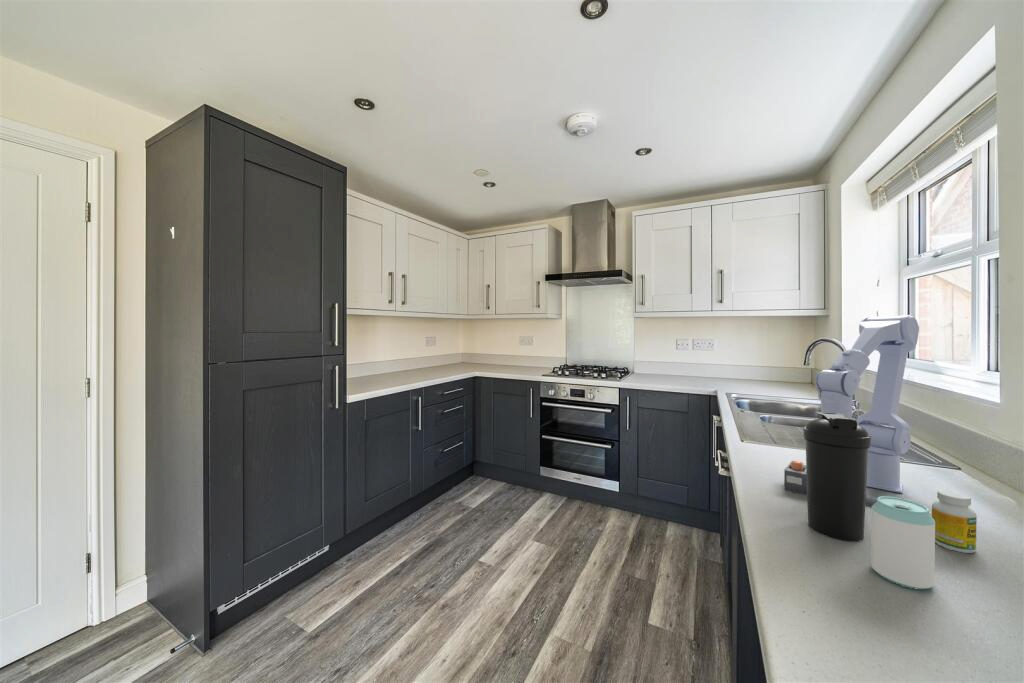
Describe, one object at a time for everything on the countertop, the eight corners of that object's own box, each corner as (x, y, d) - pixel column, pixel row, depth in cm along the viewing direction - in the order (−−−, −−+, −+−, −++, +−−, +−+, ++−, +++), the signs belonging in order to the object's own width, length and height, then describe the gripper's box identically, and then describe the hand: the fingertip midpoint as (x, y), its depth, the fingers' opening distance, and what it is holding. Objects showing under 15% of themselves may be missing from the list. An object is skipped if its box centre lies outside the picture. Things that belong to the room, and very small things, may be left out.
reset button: (792, 475, 98) (792, 460, 98) (803, 477, 96) (803, 462, 96) (790, 477, 96) (790, 462, 96) (802, 480, 94) (802, 464, 94)
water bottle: (852, 522, 78) (853, 412, 78) (882, 548, 69) (883, 422, 68) (794, 514, 81) (795, 409, 81) (815, 538, 72) (816, 418, 72)
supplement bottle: (934, 535, 73) (935, 486, 73) (978, 548, 69) (979, 495, 68) (928, 543, 70) (929, 492, 70) (973, 557, 66) (974, 503, 66)
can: (948, 595, 56) (949, 515, 56) (893, 589, 57) (894, 511, 57) (907, 566, 63) (908, 495, 63) (859, 562, 64) (860, 492, 64)
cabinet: (790, 481, 100) (790, 462, 100) (816, 486, 97) (816, 467, 96) (784, 489, 95) (784, 470, 95) (811, 496, 91) (812, 475, 91)
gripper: (856, 427, 83) (856, 489, 83) (860, 417, 93) (859, 472, 93) (815, 422, 88) (815, 480, 88) (823, 413, 98) (823, 465, 98)
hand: (835, 475), depth 91 cm, fingers open, 7 cm apart
